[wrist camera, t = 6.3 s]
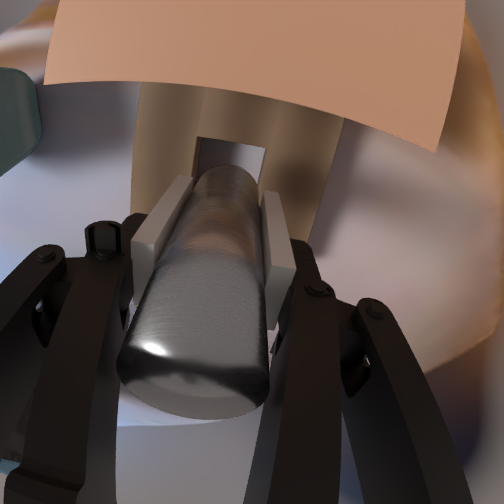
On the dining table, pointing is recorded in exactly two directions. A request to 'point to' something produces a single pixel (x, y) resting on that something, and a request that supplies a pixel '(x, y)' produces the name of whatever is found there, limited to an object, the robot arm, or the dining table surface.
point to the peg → (204, 308)
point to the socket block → (235, 130)
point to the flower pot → (17, 118)
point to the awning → (277, 53)
